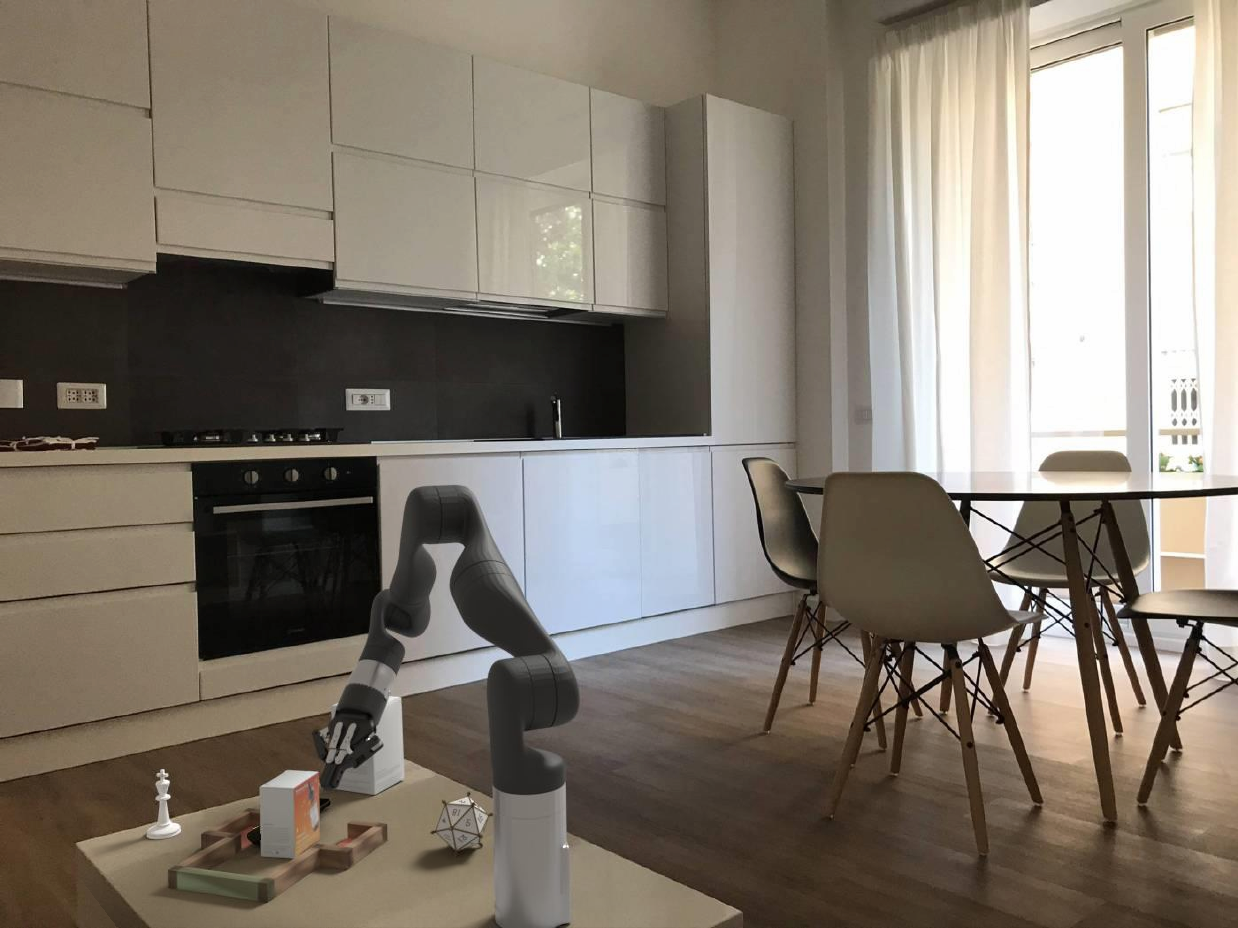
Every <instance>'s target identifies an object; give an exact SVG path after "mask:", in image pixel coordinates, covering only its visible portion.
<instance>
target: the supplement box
mask: <svg viewBox="0 0 1238 928" xmlns="http://www.w3.org/2000/svg"><path fill="white" fill-rule="evenodd" d="M337 705H338V702H337V703H334V704H333V705H330V710H331V712H330V713H331V715H330V716H331V720H332V719H333V718H334V716H335V712H336V707H337ZM402 709H403V707H402V697H401V696H393V695H392V696H391V695H390V697H389V699H388V702H387V704H386V707H385V709H384V712H383V714H382V717H381V719H380V722H379V724H378V725H377V726H376V729H377V732H376V735H377V736H378V737H379V738H380V740H381V741H382V742H383V744H384V746H383V748H382V749H380V750H379V751H378V752H376V753H375V754H374V755H373V756H371V757H370V758H369V759H368V760H366V761H365V762H364V763H363V764H361V765H360V766H359V767H358V768H356V769H354V768H353V767H352V768H348V769H347V770H346V771H344V774H343V776H342V779H341V781H340V783H339V786H338V787H337V788H335V789H334V790H338V791H344V792H350V793H351V792H352V793H358V794H365V795H372V796H375V795H377V794H380V793H381V792H383V791H385V790H386V789H388V788H390V787H392V786H393V785H395V784H397V783H400V782H401V781H402V780H404V779H405V760H404V759H405V758H404V755H405V754H404V735H403V733H404V732H403V710H402Z"/></svg>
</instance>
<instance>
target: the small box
mask: <svg viewBox="0 0 1238 928" xmlns="http://www.w3.org/2000/svg"><path fill="white" fill-rule="evenodd" d="M319 775H320V772H319V771H314V770H293V769H286V770H285V771H284V772H282V773H281V774H279V775H277V776H276V777H275V778H273V779H271V780H269V781H268V782H266V783H264V784H262V785H261V786H259V809H260V834H261V840H260V856H261V857H265V858H276V859H277V858H280V859H294V858H296V857H297V856H299V855H300V854H302V853H303V852H305V851H306V850H308V849H309V848H311V847H312V846H313V845H315V844H316V843H317V842H318V841H320V839H321V833H320V832H321V831H320V830H321V829H320V828H321V827H320V826H321V824H320V819H321V817H320V783H319V780H320V776H319Z"/></svg>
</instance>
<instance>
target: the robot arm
mask: <svg viewBox="0 0 1238 928" xmlns="http://www.w3.org/2000/svg"><path fill="white" fill-rule="evenodd" d="M406 498H407V499H406V501H405V504H404V510H403V515H402V517H403V518H402V524H401V529H400V538H399V539H400V540H399V548H398V549H399V550H398V557H397V564H396V567H395V570H394V573H393V575H392V578H391V581H390V585H389V588H385V589H383V590H381V591H379V592H378V593H377V594H376V595H375V597H374V599H373V601H372V605H371V610H370V621H369V629H368V635H367V639H366V642H365V644H364V647H363V648H362V652H361V654H360V656H359V658H358V661H357V663H356V665H355V667H354V668H353V670H352V672H351V674H350V675H349V678H348V680H347V682H346V684H345V687H344V689H343V691H342V693H341V695H340V698H339V700H338V702H337V703H338V705H337V707H336V712H335V716H334V718H333V719H332V718H331V719H330V721H329V722H328V724H327V727H325V728H323V729H321V730H319V729H317V728H316V729H313V730H312V731H311V736H312V739H313V743H314V746H315V750H316V754H317V757H318V759H320V761H321V762H322V763H323V764H324V769H323V770H322V773H321V776H320V777H319V787H320V788H321V789H322V790H323V791H325V792H334V791H335V790H336V789H335V788H337V787H338V786H339V783H340V781H341V779H342V776H343V774H344V771H346V770H347V769H348V768H352V767H353V768H354V769H356V768H358V767H359V766H360V765H361V764H363V763H364V762H365V761H366V760H368V759H369V758H370V757H371V756H373V755H374V754H375V753H376V752H378V751H379V750H380V749H382V748H383V746H384V744H383V742H382V741H381V740H380V738H379V737H378V736H377V735H376V732H377V729H376V726H377V725H378V724H379V722H380V719H381V717H382V714H383V712H384V709H385V707H386V704H387V702H388V699H389V697H390V696H391V694H392V692H393V689H394V685H395V681H396V678H397V676H398V672H399V670H400V668H401V666H402V664H403V660H404V658H405V655H406V648H405V646H404V644H403V643H402V642H401V641H400V640H398V639H397V638H396V637H394V636H393V635H392V634H390V633H389V632H388V631H390V632H393V633H395V634H398V635H401V636H403V637H406V638H410V639H412V638H418V637H420V636H421V635H423V634H424V633H425V632H426V630H427V629H428V626H429V623H430V621H431V614H432V610H431V607H432V606H431V601H430V595H431V592H432V590H433V588H434V586H435V583H436V581H437V565H436V563H435V560H434V559H433V557H432V555H431V554H430V553H429V552H428V550H427V549H426V548H425V546H424V545H441V544H442V545H444V544H456V543H458V544H461V545H462V546H463V547H464V548H463V550H462V551H461V554H460V555H459V557H458V559H457V560H456V562H455V564H454V566H453V568H452V570H451V574H450V578H449V592H450V595H451V597H452V600H453V602H454V604H455V607H456V609H457V611H458V613H459V615H460V617H461V619H462V620H463V623H464V624H465V625H466V626H467V628H469V629H470V630H471V631H472V632H473V633H475V634H476V635H477V636H479V637H480V638H482V639H483V640H485V641H486V642H488V643H490V644H492V645H494V646H496V647H497V648H499V649H500V650H503V652H504V651H505V653H507V654H509V655H511V656H512V657H507V658H502V659H501V658H500V659H498V660H496V661H494V662H493V663H492V664H491V666H490V668H489V671H488V673H487V680H486V702H487V703H486V704H487V714H488V715H487V716H488V728H489V752H490V754H489V755H490V763H491V772H492V809H493V810H492V813H493V816H492V818H493V819H492V820H493V821H492V822H493V823H492V825H493V829H492V832H493V833H492V835H493V873H494V874H493V878H494V879H493V882H494V884H493V888H494V890H493V891H494V899H493V900H494V921H495V922H496V924H497V925H498V926H499V927H500V928H557V927H559V926H561V925H563V924H564V925H565V924H569V923H572V912H571V909H572V908H571V907H572V906H571V904H572V903H571V896H572V895H571V850H570V846H569V844H568V841H567V799H566V798H567V795H566V794H567V793H566V792H567V790H566V788H567V787H566V782H567V781H566V779H567V778H566V776H567V774H566V764H565V761H564V759H563V758H562V756H559V754H556V753H554V752H551V751H548V750H545V749H539V748H534V747H531V746H528V745H526V744H525V739H524V738H525V737H524V732H529V731H536V730H543V729H550V728H555V727H559V726H563V725H566V724H568V723H570V722H572V720H573V719H575V717H576V716H577V714H578V712H579V709H580V704H581V703H580V702H581V700H580V699H581V698H580V696H581V695H580V688H579V685H578V681H577V677H576V675H575V673H574V670H573V668H572V666H571V664H570V662H569V661H568V659H567V658H566V656H565V654H564V653H563V652H562V650H561V649H560V648H559V646H558V645H557V644H556V642H555V641H554V639H553V638H552V637H551V636H550V634H549V633H548V632H547V630H546V629H545V627H544V626H543V625H542V623H541V621H540V620H539V618H538V617H537V616H536V614H535V612H534V611H533V609H532V607H531V605H530V603H529V602H528V600H527V598H526V596H525V594H524V593H523V591H522V588H521V586H520V584H519V583H518V582H519V581H518V580H517V578H516V577H515V575H514V572H513V571H512V570H511V568H510V567H509V565H508V563H507V561H506V559H505V558H504V557H503V555H502V553H501V552H500V549H499V548H498V546H497V544H496V542H495V540H494V538H493V535H492V534H491V530H490V528H489V526H488V524H487V521H486V518H485V516H484V514H483V510H482V508H481V506H480V503H479V501H478V499H477V497H476V495H475V494H474V492H473V491H472V490H471V489H470V488H469V487H467V486H465V485H459V484H444V485H443V484H442V485H441V484H439V485H423V486H418V487H415V488H413V489H412V490H411V491H410V492H409V495H407V497H406ZM387 630H388V631H387ZM329 738H330V739H329ZM329 740H330V743H329ZM328 743H329V747H328Z"/></svg>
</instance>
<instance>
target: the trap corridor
mask: <svg viewBox="0 0 1238 928" xmlns="http://www.w3.org/2000/svg"><path fill="white" fill-rule="evenodd" d="M257 826H260V808H251V807H248V808H245V809H244V810H242V811H240V812H239V813H237V814H235V815H233V816H232V817H228V818H227V819H226V820H223V821H221V822H220V823H217V824H216V825H215V826H212V827H210V828H209V829H206V830H205V831H204V832H202V833H201V834H200V851H199V852H197V853H195V854H194V855H192V856H190V857H188V858H187V859H184V860H182V861H181V862H179V863H178V864H175V865H174V866H173V867H170V868H168V869H167V881H168V882H167V884H168V885H167V887H168V889H171V890H172V889H174V890H180V891H187V892H193V893H200V894H207V895H215V896H222V897H228V898H234V899H235V898H236V899H242V900H243V899H244V900H249V901H256V902H257V901H258V902H261V903H262V902H264V903H270V901H272V900H273V899H275V898H276V897H278V896H279V895H281V894H283V892H285V891H286V890H288V889H289V888H291V887H292V886H293V885H295V884H297V883H298V882H300V881H301V880H302V879H304V878H305V877H306V876H308V875H310V874H311V873H312V872H314V871H315V870H317V869H318V868H319V867H326V868H335V869H342V870H349V869H350V868H351V867H354V865H356V864H358V862H359V861H361V860H363V859H364V858H365V857H367V856H368V855H370V853H372V852H373V851H375V850H376V849H378V848H379V847H380V846H382V845H383V844H384V843H386V842H387V841H388V837H389V836H388V823H383V822H382V823H381V822H374V821H364V820H355V819H352V820H350V821H349V822H348V823H346V826H347V827H346V828H347V831H346V832H347V837H346V838H345V839H344V840H342V841H341V842H339V843H338V844H336V845H333V844H324V843H314V844H313V845H311V846H310V847H308V848H307V849H306V850H304V851H303V852H302V853H301V854H299V855H298V856H297V857H296V858H292V859H291V860H290V861H287V863H285V864H283V865H282V866H280V867H279V868H277V869H276V870H274V871H273V872H271V873H270V874H268V875H267V876H266V877H262V876H257V875H256V876H254V875H247V874H241V873H235V872H233V873H232V872H225V871H220V870H219V871H218V870H212V869H214V868H215V867H217V866H218V865H219V866H220V865H221V864H222V863H224V862H226V861H227V860H229V859H230V858H232V857H234V856H235V855H237V854H238V853H240V852H242V851H244V850H246V849H247V848H249V847H250V846H252V845H253V844H252V842H250V841H249V840H248V839H247V835H246V834H247V833H248V832H250V831H252V830H253V828H255V827H257Z"/></svg>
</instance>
